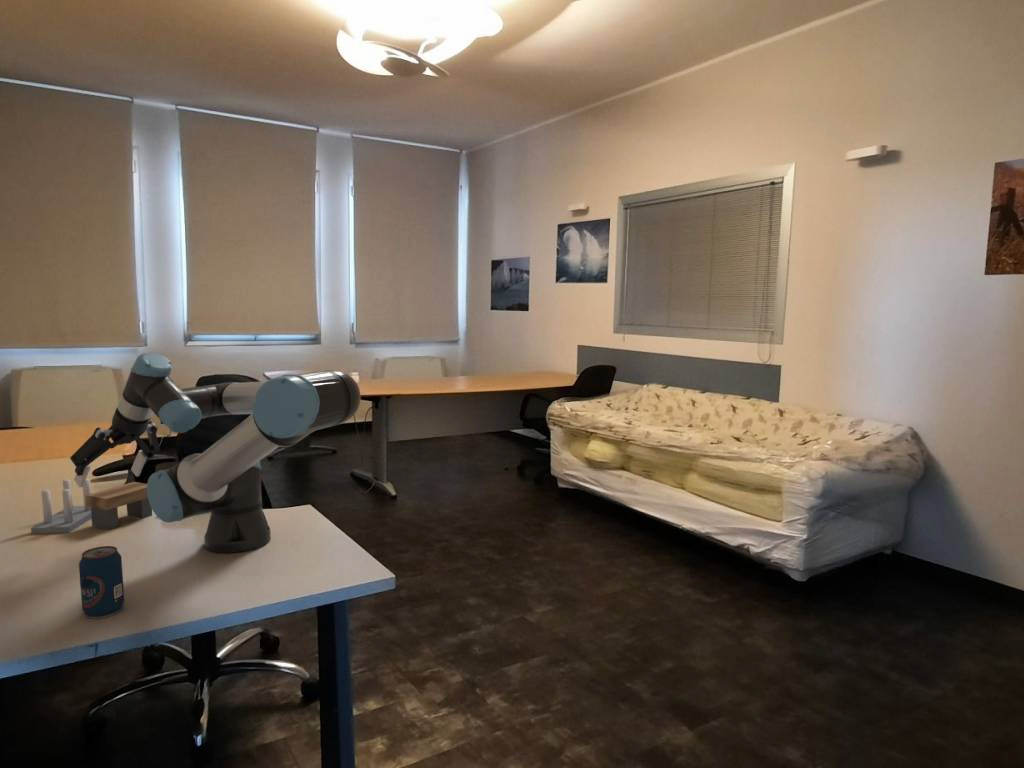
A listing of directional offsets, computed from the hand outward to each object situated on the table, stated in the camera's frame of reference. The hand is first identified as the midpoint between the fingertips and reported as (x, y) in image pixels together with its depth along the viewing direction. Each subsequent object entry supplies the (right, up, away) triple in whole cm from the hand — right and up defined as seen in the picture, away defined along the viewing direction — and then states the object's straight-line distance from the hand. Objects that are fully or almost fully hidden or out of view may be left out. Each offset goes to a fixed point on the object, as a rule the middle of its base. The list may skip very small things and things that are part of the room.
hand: (107, 478), depth 165 cm
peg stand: (-19, -14, +15) cm, 28 cm away
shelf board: (-5, -8, +15) cm, 18 cm away
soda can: (+21, -21, -36) cm, 47 cm away
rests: (-5, -14, +16) cm, 22 cm away
